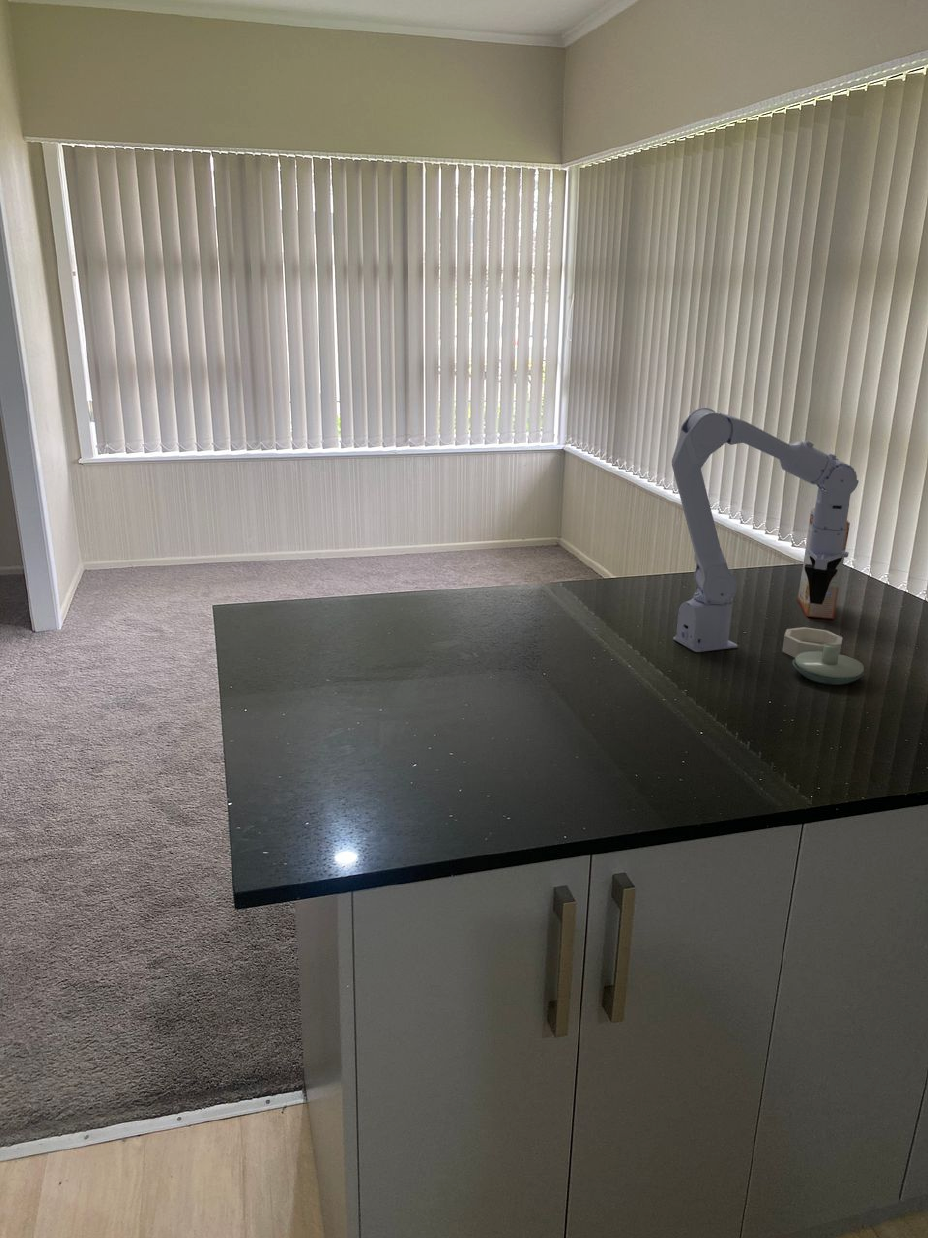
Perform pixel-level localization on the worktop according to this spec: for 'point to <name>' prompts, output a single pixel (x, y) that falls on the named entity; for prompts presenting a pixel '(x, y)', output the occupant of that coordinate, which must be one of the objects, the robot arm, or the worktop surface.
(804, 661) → the lid
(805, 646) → the bowl
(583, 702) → the worktop surface
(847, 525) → the cracker box
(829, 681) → the saucer
